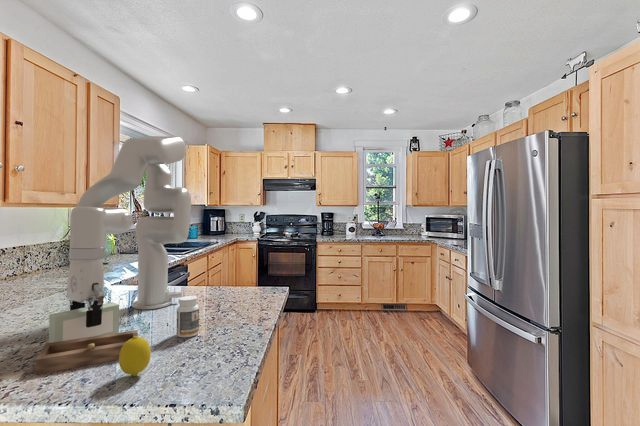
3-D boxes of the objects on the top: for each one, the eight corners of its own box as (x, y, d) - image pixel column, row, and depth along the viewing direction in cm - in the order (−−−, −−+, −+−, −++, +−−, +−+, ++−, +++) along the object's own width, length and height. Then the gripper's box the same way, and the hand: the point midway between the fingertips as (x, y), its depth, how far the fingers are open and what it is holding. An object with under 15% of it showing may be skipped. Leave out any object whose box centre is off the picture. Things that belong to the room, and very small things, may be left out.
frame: (111, 331, 90) (112, 302, 90) (118, 334, 88) (119, 304, 88) (48, 347, 79) (49, 314, 79) (54, 351, 76) (55, 317, 76)
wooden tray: (136, 341, 82) (137, 325, 83) (138, 355, 74) (138, 338, 74) (45, 356, 73) (45, 339, 73) (35, 374, 65) (36, 354, 65)
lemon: (127, 369, 68) (128, 331, 68) (154, 369, 68) (155, 331, 68) (112, 383, 62) (113, 341, 62) (142, 382, 63) (143, 341, 63)
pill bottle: (203, 332, 90) (203, 296, 90) (188, 339, 84) (189, 301, 85) (186, 329, 92) (187, 294, 92) (171, 336, 86) (171, 299, 86)
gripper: (56, 253, 85) (54, 320, 84) (85, 258, 75) (82, 333, 74) (89, 251, 91) (87, 313, 90) (119, 256, 81) (117, 325, 81)
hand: (85, 322), depth 82 cm, fingers open, 9 cm apart
